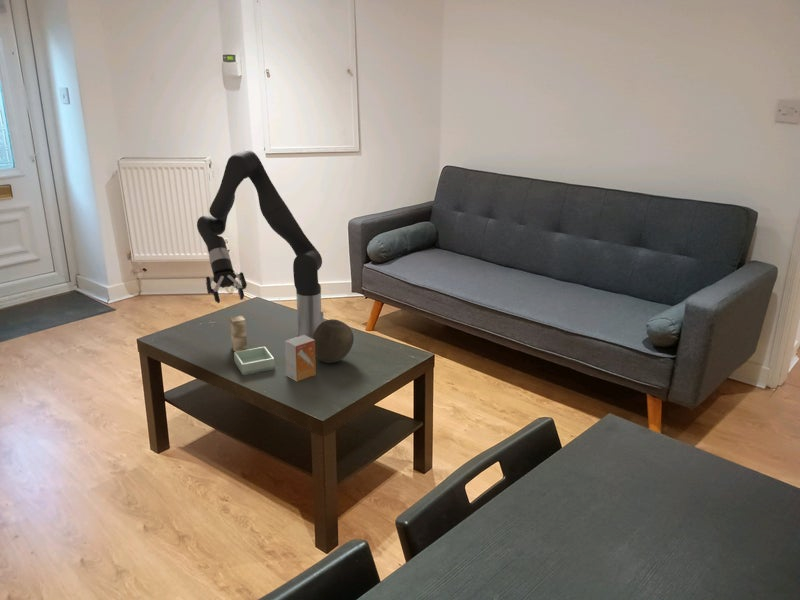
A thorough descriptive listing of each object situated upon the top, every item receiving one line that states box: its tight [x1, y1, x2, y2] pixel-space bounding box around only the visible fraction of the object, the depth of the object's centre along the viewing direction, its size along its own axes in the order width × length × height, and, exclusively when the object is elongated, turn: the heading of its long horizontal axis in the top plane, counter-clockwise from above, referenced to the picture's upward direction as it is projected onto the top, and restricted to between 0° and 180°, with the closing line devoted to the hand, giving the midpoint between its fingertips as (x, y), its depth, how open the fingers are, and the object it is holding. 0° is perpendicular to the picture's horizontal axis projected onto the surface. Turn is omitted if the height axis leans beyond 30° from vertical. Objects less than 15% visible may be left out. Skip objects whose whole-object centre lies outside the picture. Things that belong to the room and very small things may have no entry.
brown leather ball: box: [312, 319, 355, 364], centre depth 234 cm, size 14×14×15 cm
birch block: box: [229, 315, 248, 352], centre depth 243 cm, size 4×4×12 cm
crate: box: [233, 346, 276, 376], centre depth 231 cm, size 11×11×4 cm
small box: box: [284, 335, 317, 383], centre depth 224 cm, size 8×6×13 cm
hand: (230, 300), depth 247 cm, fingers open, 8 cm apart
